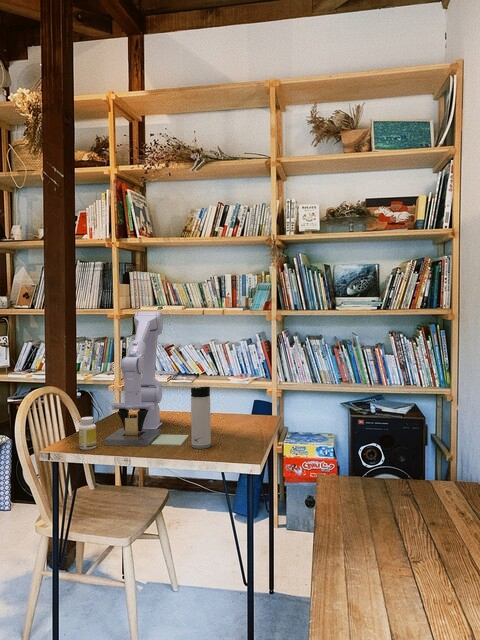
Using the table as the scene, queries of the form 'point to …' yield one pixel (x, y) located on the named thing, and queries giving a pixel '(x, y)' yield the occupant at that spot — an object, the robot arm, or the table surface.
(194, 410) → the travel mug
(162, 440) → the mat
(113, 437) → the square plate with hole
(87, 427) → the supplement bottle
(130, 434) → the end cover
